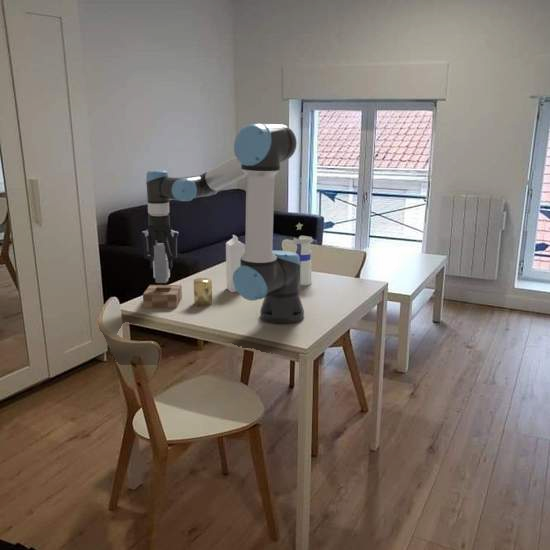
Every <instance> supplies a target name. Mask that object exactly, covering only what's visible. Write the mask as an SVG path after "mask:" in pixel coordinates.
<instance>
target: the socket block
mask: <svg viewBox="0 0 550 550" xmlns="http://www.w3.org/2000/svg"><path fill="white" fill-rule="evenodd" d="M182 289H183V288H182V284H164V285H163V284H157V285H156V284H149V285H148V287H147V288H146V290H144V292H143V294H142V299H143V300H142V302H143V305H142V306H143V308H144V309H146V308H152V309H153V308H154V309H155V308H156V309H158V308H160V309H161V308H162V309H166V308H167V309H177V308H178V307H179V305H180V302H181V301H182V299H183V294H182V293H183V291H182Z"/></svg>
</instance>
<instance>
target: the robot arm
mask: <svg viewBox="0 0 550 550" xmlns="http://www.w3.org/2000/svg"><path fill="white" fill-rule="evenodd" d="M296 149H297V138H296V135H295V133H294V132H293V130H292V129H291V128H290V127H289V126H287V125H285V124H282V123H254V124H248V125H246V126H244V127H242V128H241V130H240V131H238V132H237V135H236V136H235V139H234V142H233V151H234V155H235V156H233V157H231V158H230V159H227V160H226V161H224V162H222V163H220V164H218V165H216V166H215V167H212V168H211V169H209V170H207V171H206V172H204V173H202V174H199V175H192V176H184V177H170V176H169V172H168V171H167V170H166V169H165V170H163V169H152V170H151V169H150V170H147V172H146V178H145V179H146V182H145V183H146V198H147V199H146V200H147V213H148V216H147V217H148V227H147V229H146V230H142V231H141V232H140V235H141V238H142V245H143V256H144V259H146V260H148V261H149V266H150V269H152V270H153V271H152V272H153V279H155V262H154V245H156V244H157V243H158V241H162V243H164V245H165V250H166V254H167V258H168V259H167V260H166V275H167V278H168V279H169V278H170V277H171V270H172V268H173V260H176V258H177V257H178V236H179V234H180V233H179V231H175V230H173V229H172V228H171V216H170V214H169V213H170V200H175V201H180V202H191V201H193V199H195V198H200V197H201V198H202V197H211V196H213V195H216V194H217V193H219V191H220V190H221V189H223V188H225V187H227V186H229V185H230V184H233V183H235V182H237V181H239V180H241V179H243V178H245V179H246V180H245V182H246V184H245V185H246V187H245V238H244V239H245V240H244V241H245V242H244V244H245V252H244V253H243V254H242V255H241V257H240V267H238V268H237V269H236V271H235V272H234V274H233V284H234V287H235V289H236V291H237V292H236V293H238V294H239V296H240V297H242V298H243V299H245V300H247V301H253V302H254V301H258V300H262V299H263V300H262V301H263V302H262V305H261V307H260V311H259V312H260V313H259V315H260V316H259V317H260V319H261V320H263V321H265V322H266V323H267V322H268V323H272V324H280V325H282V324H283V325H286V324H292V323H293V324H294V323H297V322H300V321H302V320H303V319H304V318H305V310H304V307H303V304H302V303H303V302H302V301H301V298H300V285H299V279H300V258H299V255H298V254H296V253H295V252H293V251H288V250H287V251H286V250H273V245H274V244H273V241H274V240H273V239H274V237H273V236H274V235H273V234H274V208H275V207H274V205H275V176H276V175H277V174H278V173H279V172H280V170H281V169H280V168H281V163H283V162H285V161H288V160H289V159H290V158H292V156H294V153H295V151H296ZM149 235H150V237H151V238H152V240H151V242H152V243H151V246H150V247H151V248H150V247H149V237H148V236H149ZM170 235H171V237H172V252H171V247H170V243H169V239H168V237H169V236H170ZM149 249H150V251H149Z"/></svg>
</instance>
